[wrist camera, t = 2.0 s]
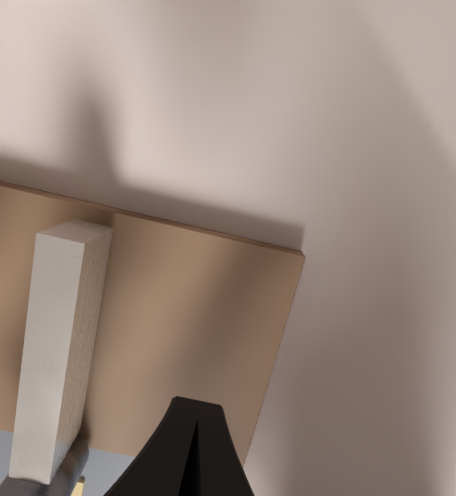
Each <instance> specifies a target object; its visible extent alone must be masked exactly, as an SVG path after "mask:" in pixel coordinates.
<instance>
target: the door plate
mask: <svg viewBox="0 0 456 496" xmlns="http://www.w3.org/2000/svg"><path fill="white" fill-rule="evenodd" d="M13 434H14V433H13V432H8V431H3V430H0V485H1V483H2V482H3V480H4V479H5V478H6V476H7V475H8V473H9V469H10V460H11V451H12V442H13ZM134 459H135V457H133V456H128V455H123V454H118V453H113V452H108V451H103V450H98V449H93V448H89V458H88V461H87V463H86V465H85V467H84V469H83V471H82V473H81V476H80V478H79V480H78V482H77V484H76V486H75V488H74V490H73V492H72V494H71V496H103V495H104V494H105V493H106V492H107V491H108V490H109V489H110V487H111V486H112V485H113V484H114V483H115V482H116V481H117V480H118V478H119V477H120V476H121V475H122V474H123V472H124V471H125V470H126V469H127V467H128V466H129V465H130V464H131V462H132V461H133V460H134Z"/></svg>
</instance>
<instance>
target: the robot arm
mask: <svg viewBox="0 0 456 496" xmlns="http://www.w3.org/2000/svg"><path fill="white" fill-rule="evenodd" d="M103 496H254V494H253V491H252V489H251V487H250V485H249V482H248V480H247V478H246V475H245V473H244V470H243V468H242V465H241V463H240V460H239V457H238V455H237V452H236V449H235V447H234V444H233V441H232V438H231V435H230V432H229V428H228V425H227V422H226V418H225V414H224V409H223V408H222V406H221V405H219V404H214V403H209V402H204V401H199V400H195V399H190V398H185V397H180V396H176V397H174V398H172V400H171V403H170V405H169V407H168V409H167V411H166V413H165V415H164V417H163V419H162V420H161V422H160V423H159V425H158V427H157V428H156V430H155V431H154V433H153V434H152V435H151V437H150V438H149V440H148V441H147V443H146V444H145V445H144V447H143V448H142V450H141V451H140V452H139V454H138V455H137V456H136V457H135V459H134V460H133V461H132V462H131V464H130V465H129V466H128V467H127V469H126V470H125V471H124V472H123V474H122V475H121V476H120V477H119V478H118V480H117V481H116V482H115V483H114V484H113V485H112V486H111V487H110V489H109V490H108V491H107V492H106V493H105V494H104V495H103Z"/></svg>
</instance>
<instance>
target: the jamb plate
mask: <svg viewBox="0 0 456 496" xmlns="http://www.w3.org/2000/svg"><path fill="white" fill-rule="evenodd" d="M73 219H78V220H82V221H87V222H91V223H95V224H100V225H104V226H108V227H113V232H112V239H111V245H110V251H109V257H108V263H107V269H106V275H105V281H104V287H103V293H102V299H101V305H100V312H99V318H98V324H97V330H96V336H95V342H94V348H93V354H92V360H91V366H90V372H89V378H88V384H87V391H86V397H85V403H84V409H83V415H82V421H81V427H80V431H79V434H80V435H81V436H82V437H83V438H84V439H85V441H86V443H87V445H88V448H93V449H98V450H103V451H108V452H113V453H118V454H123V455H128V456H133V457H136V456H137V455H138V454H139V452H140V451H141V450H142V448H143V447H144V445H145V444H146V443H147V441H148V440H149V438H150V437H151V435H152V434H153V433H154V431H155V430H156V428H157V427H158V425H159V423H160V422H161V420H162V419H163V417H164V415H165V413H166V411H167V409H168V407H169V405H170V403H171V400H172V398H174V397H176V396H180V397H185V398H190V399H195V400H199V401H204V402H209V403H214V404H219V405H221V406H222V408H223V409H224V414H225V418H226V422H227V425H228V428H229V432H230V435H231V438H232V441H233V444H234V447H235V449H236V452H237V455H238V457H239V460H240V463H241V465H242V468H243V467H244V463H245V460H246V456H247V453H248V450H249V446H250V443H251V440H252V436H253V433H254V429H255V426H256V423H257V419H258V416H259V413H260V409H261V406H262V403H263V399H264V396H265V392H266V389H267V386H268V382H269V379H270V376H271V372H272V369H273V365H274V362H275V359H276V355H277V352H278V349H279V345H280V342H281V338H282V335H283V332H284V328H285V325H286V322H287V318H288V315H289V311H290V308H291V305H292V301H293V298H294V295H295V291H296V288H297V285H298V281H299V278H300V274H301V271H302V268H303V264H304V261H305V258H306V257H305V256H304V254H303V253H302V252H301V251H297V250H293V249H288V248H284V247H280V246H275V245H271V244H267V243H263V242H258V241H254V240H250V239H245V238H241V237H237V236H233V235H228V234H224V233H220V232H215V231H211V230H207V229H203V228H198V227H194V226H190V225H185V224H181V223H177V222H172V221H168V220H164V219H160V218H155V217H151V216H147V215H142V214H138V213H134V212H130V211H125V210H121V209H117V208H112V207H108V206H104V205H100V204H95V203H91V202H87V201H82V200H78V199H74V198H70V197H65V196H61V195H57V194H52V193H48V192H44V191H40V190H35V189H31V188H27V187H22V186H18V185H14V184H9V183H5V182H1V181H0V430H3V431H8V432H13V433H14V425H15V416H16V407H17V399H18V390H19V381H20V372H21V364H22V355H23V346H24V337H25V329H26V320H27V311H28V302H29V294H30V285H31V276H32V267H33V259H34V250H35V241H36V233H37V232H40V231H43V230H45V229H48V228H51V227H54V226H56V225H59V224H62V223H64V222H67V221H70V220H73Z"/></svg>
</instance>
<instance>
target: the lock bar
mask: <svg viewBox="0 0 456 496" xmlns="http://www.w3.org/2000/svg"><path fill="white" fill-rule="evenodd" d="M112 232H113V227H108V226H104V225H100V224H95V223H91V222H87V221H82V220H78V219H73V220H70V221H67V222H64V223H62V224H59V225H56V226H54V227H51V228H48V229H45V230H43V231H40V232H37V233H36V241H35V250H34V259H33V267H32V276H31V285H30V294H29V302H28V311H27V320H26V329H25V337H24V346H23V355H22V364H21V372H20V381H19V390H18V399H17V407H16V416H15V425H14V434H13V442H12V451H11V460H10V469H9V473H8V475H7V476H6V478H5V479H4V480H3V482H2V483H1V485H0V496H71V494H72V492H73V490H74V488H75V486H76V484H77V482H78V480H79V478H80V476H81V473H82V471H83V469H84V467H85V465H86V463H87V461H88V458H89V448H88V445H87V443H86V441H85V439H84V438H83V437H82V436H81V435H80V434H79V431H80V427H81V421H82V415H83V409H84V403H85V397H86V391H87V384H88V378H89V372H90V366H91V360H92V354H93V348H94V342H95V336H96V330H97V324H98V318H99V312H100V305H101V299H102V293H103V287H104V281H105V275H106V269H107V263H108V257H109V251H110V245H111V239H112Z"/></svg>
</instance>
